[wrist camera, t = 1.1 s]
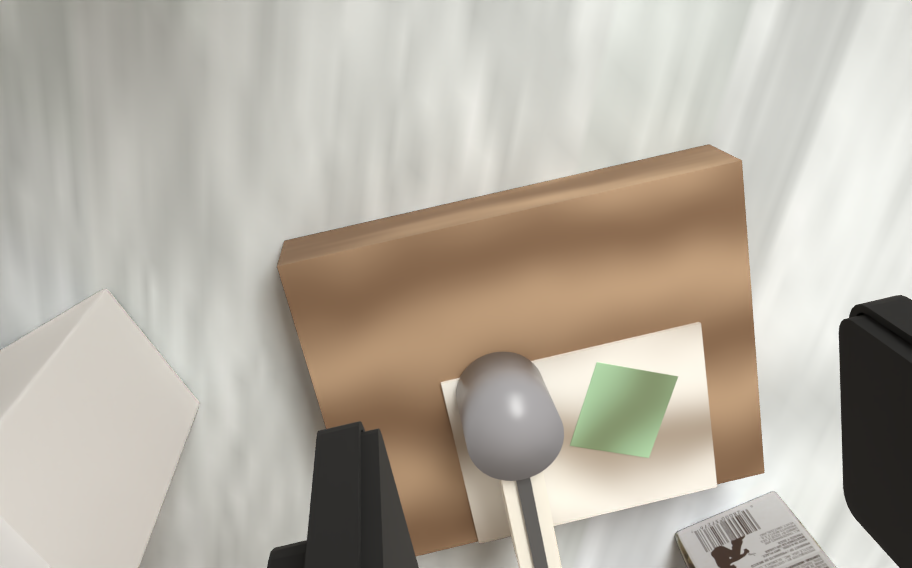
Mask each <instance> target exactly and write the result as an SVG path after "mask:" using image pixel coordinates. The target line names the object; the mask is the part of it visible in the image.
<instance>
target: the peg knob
mask: <svg viewBox="0 0 912 568" xmlns="http://www.w3.org/2000/svg"><path fill="white" fill-rule="evenodd" d="M456 400H457V405H458V410H459V414H460V419H461V423H462V428H463V432H464V437H465V441H466V445H467V450H468V453H469V456H470V458H471V460H472V462H473V463H474V464H475V466H476V467H477V468H478V469H479V470H480V471H482V472H483V473H485V474H486V475H488V476H490V477H493V478H495V479H499V482H500V486H501V491H502V496H503V500H504V505H505V509H506V514H507V518H508V523H509V528H510V532H511V537H512V541H513V546H514V551H515V554H516V558H517V562H518V566H519V568H562V567H561V562H560V556H559V551H558V546H557V541H556V536H555V530H554V525H553V520H552V515H551V510H550V505H549V499H548V494H547V489H546V484H545V479H544V473H543V470H545V469H546V468H547V467H549V466H550V465H551V464H552V463H553V461H554V460H555V459H556V457H557V456H558V454H559V452H560V450H561V448H562V445H563V441H564V427H563V423H562V420H561V418H560V416H559V414H558V411H557V409H556V407H555V405H554V402H553V400H552V398H551V396H550V394H549V391H548V389H547V387H546V385H545V382H544V380H543V378H542V376H541V373H540V371H539V370H538V368H537V367H536V366H535V365H534V363H532V362H531V361H530V360H529V359H527V358H526V357H524V356H522V355H519V354H516V353H512V352H494V353H490V354H486V355H484V356H482V357H480V358H478V359H476V360H475V361H473V362H472V363H471V364H470V365H469V366H468V367H467V368H466V369H465V370H464V371H463V373H462V375H461V376H460V378H459V381H458V384H457V388H456Z"/></svg>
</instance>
